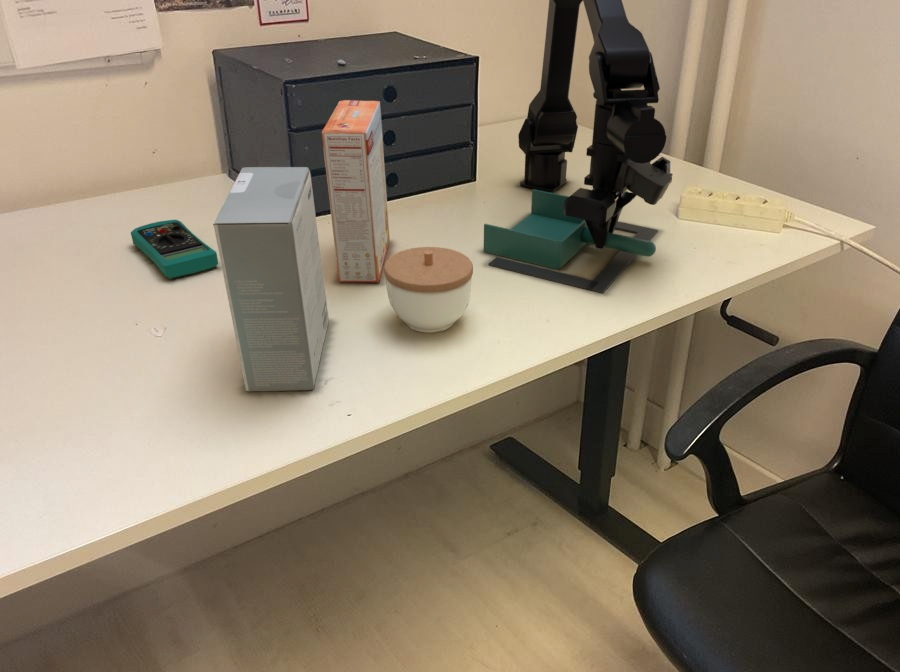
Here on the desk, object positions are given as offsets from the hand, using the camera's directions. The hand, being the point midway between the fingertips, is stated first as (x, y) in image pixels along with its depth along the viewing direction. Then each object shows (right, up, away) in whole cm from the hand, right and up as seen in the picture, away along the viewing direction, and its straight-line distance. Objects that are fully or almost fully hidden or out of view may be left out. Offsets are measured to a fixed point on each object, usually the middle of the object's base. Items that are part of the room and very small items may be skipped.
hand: (602, 245), depth 119 cm
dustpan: (-3, 0, +2) cm, 4 cm away
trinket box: (-24, -13, -17) cm, 32 cm away
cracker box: (-35, -3, -4) cm, 35 cm away
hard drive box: (-39, -17, -25) cm, 50 cm away
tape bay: (-4, 0, +2) cm, 4 cm away
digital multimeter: (-61, -3, -4) cm, 62 cm away
